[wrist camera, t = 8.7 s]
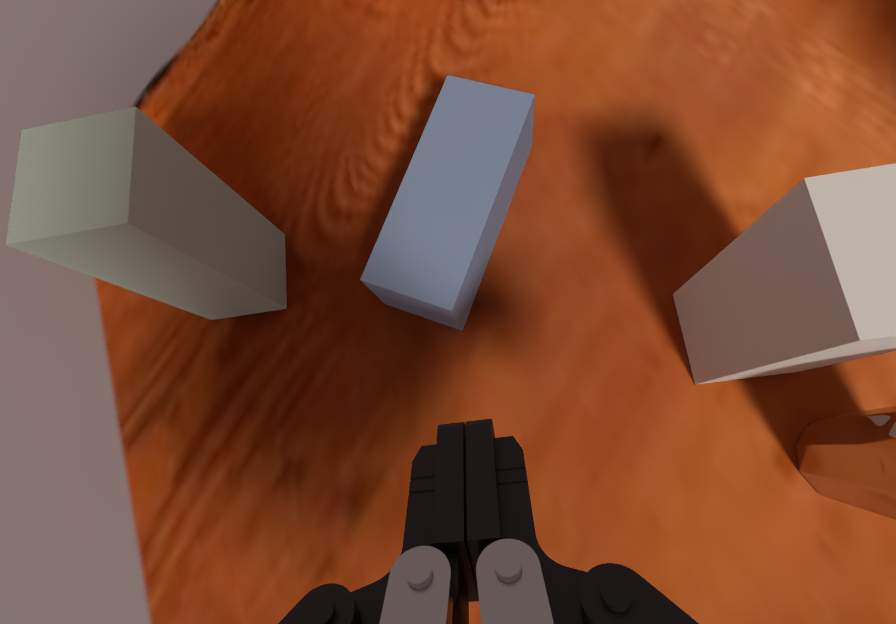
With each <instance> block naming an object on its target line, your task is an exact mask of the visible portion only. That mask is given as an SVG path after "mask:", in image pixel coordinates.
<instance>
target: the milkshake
mask: <svg viewBox="0 0 896 624" xmlns="http://www.w3.org/2000/svg"><path fill="white" fill-rule="evenodd" d="M796 451H797V457H798V464H799V471H800V473H801V474H802V475H803V476H804V477H805V478H806V479H807V480H808V482H809V483H810V484H811V485H812V486H813V487H814V488H815V490H816V491H817V492H818V493H819V494H820V495H822V496H825V497H828V498H831V499H834V500H837V501H840V502H843V503H846V504H849V505H852V506H855V507H858V508H861V509H864V510H867V511H870V512H873V513H876V514H879V515H882V516H885V517H888V518H891V519H895V520H896V406H891V407H885V408H879V409H873V410H867V411H861V412H855V413H849V414H843V415H837V416H833V417H830V418H827V419H823V420H820V421H817V422H813V423H810V424H808V426H807V428H806V429H805V431H804V432H803V434H802V436H801V437H800V439H799V440H798V442H797V443H796Z"/></svg>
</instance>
